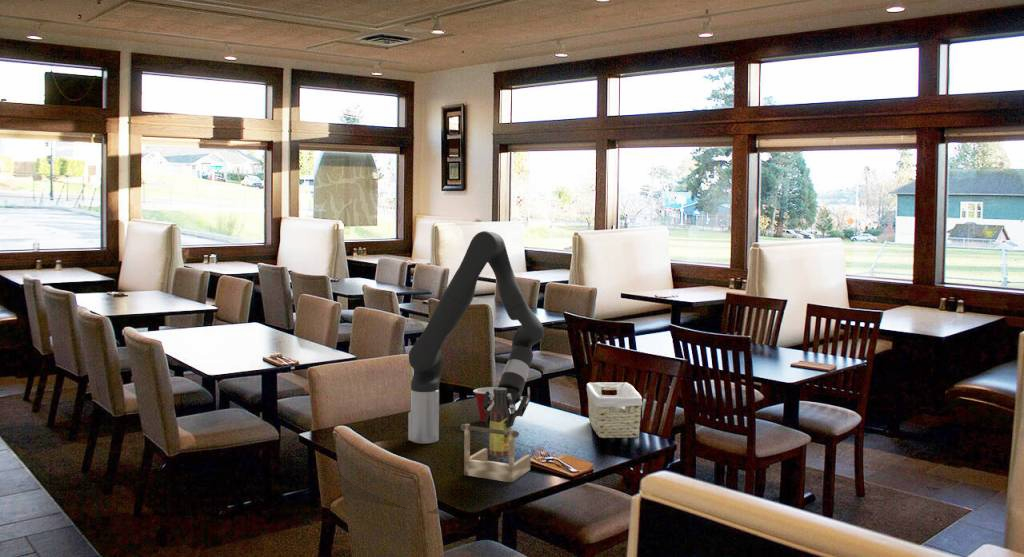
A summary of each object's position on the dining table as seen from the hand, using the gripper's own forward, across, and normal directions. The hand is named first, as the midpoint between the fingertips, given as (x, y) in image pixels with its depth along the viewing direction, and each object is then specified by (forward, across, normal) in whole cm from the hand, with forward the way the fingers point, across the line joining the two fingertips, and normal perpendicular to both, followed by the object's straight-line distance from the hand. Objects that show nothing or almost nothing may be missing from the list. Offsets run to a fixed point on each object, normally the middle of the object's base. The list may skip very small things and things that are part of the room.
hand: (497, 425), depth 255 cm
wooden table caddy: (+10, 0, +10) cm, 14 cm away
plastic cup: (-27, -28, +47) cm, 61 cm away
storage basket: (-33, +16, +54) cm, 66 cm away
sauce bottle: (+6, 0, +8) cm, 10 cm away
